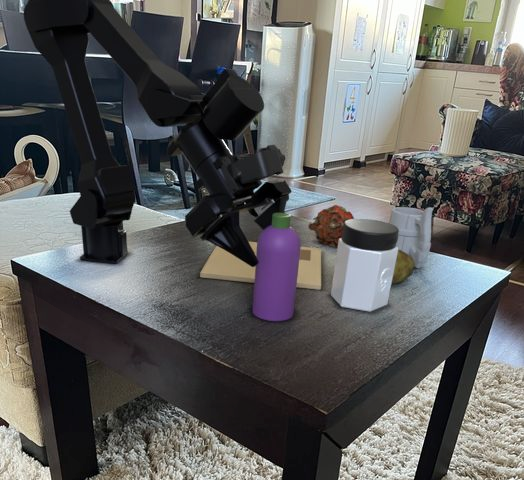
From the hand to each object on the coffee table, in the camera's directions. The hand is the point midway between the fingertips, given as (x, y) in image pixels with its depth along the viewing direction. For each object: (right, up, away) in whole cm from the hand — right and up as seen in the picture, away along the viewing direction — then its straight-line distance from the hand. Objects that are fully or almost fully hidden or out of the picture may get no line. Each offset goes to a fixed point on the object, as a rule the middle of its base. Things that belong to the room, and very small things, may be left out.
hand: (274, 257), depth 74 cm
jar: (+14, -5, +10) cm, 18 cm away
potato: (+19, -1, +19) cm, 26 cm away
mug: (+25, +3, +27) cm, 37 cm away
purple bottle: (0, -7, +4) cm, 8 cm away
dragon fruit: (+13, +9, +37) cm, 40 cm away
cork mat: (-1, +3, +22) cm, 22 cm away
